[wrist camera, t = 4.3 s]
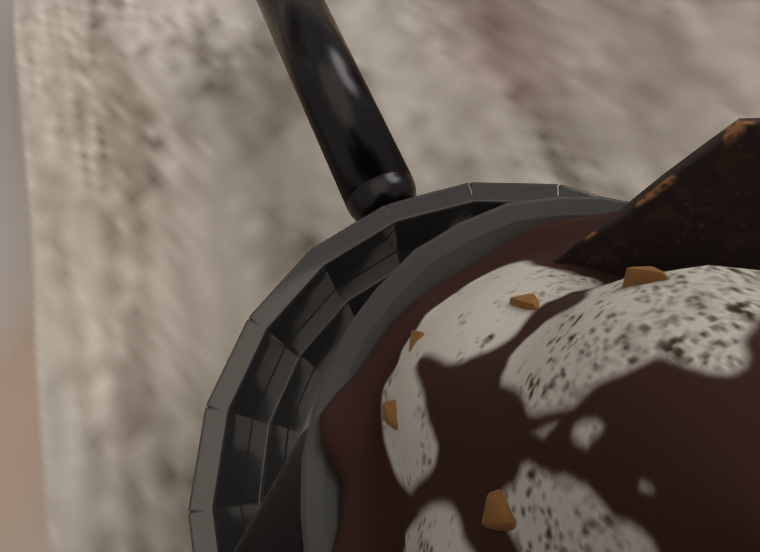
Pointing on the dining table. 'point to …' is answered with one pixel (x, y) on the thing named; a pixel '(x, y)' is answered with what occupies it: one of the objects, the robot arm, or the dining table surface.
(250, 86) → the dining table surface
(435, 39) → the dining table surface
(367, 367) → the sundae
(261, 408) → the skillet
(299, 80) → the skillet handle
